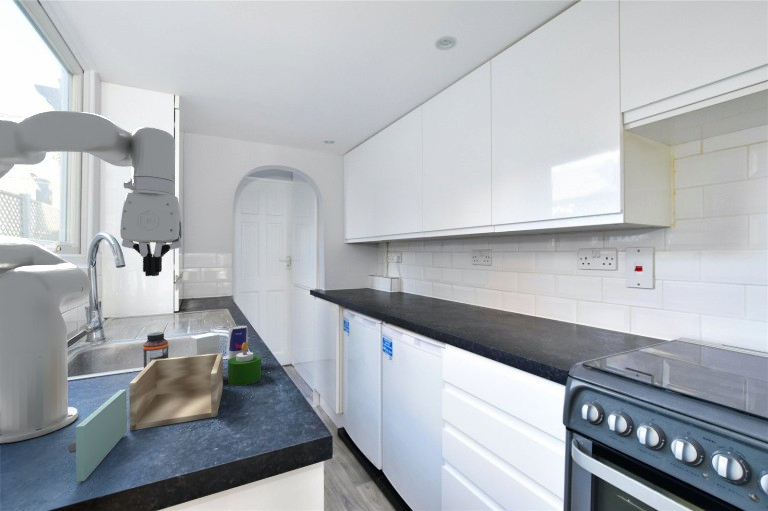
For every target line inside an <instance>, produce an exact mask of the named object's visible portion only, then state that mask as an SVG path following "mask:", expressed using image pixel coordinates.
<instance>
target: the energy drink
mask: <svg viewBox="0 0 768 511" xmlns="http://www.w3.org/2000/svg"><path fill="white" fill-rule="evenodd" d="M248 328H249V327H248V326H247V325H243V324H242V325H241V324H239V325H233V326H229V328H228V332H227V333H228V360H229V359H231V358H233V357H236V355H237V354H239V353H242V344H243V343H246V344H247V346H248V348H247V352H249V329H248Z"/></svg>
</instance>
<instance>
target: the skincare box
mask: <svg viewBox="0 0 768 511" xmlns="http://www.w3.org/2000/svg"><path fill="white" fill-rule="evenodd" d="M189 347H190V348H189V354H190V355H189V356H197V355H206V354H216V353H221V351H220V334H219V333H215V332H207V333H203V334H198V335H192V336H189Z"/></svg>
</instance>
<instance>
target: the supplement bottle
mask: <svg viewBox="0 0 768 511" xmlns="http://www.w3.org/2000/svg"><path fill="white" fill-rule="evenodd" d="M146 337H147V338H146V339H147V340H146V341H145V342H144V343H143V349H142V350H143V351H142V352H143V355H142V356H143V369H144V368H145V367H146V366H147V365H148V364H149V363H150V362H151V361H152V360H157V359H167V358H169V341H168V340H167V339H166V338H165V332H163V331H157V332H150V333H148V334H147V336H146Z"/></svg>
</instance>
